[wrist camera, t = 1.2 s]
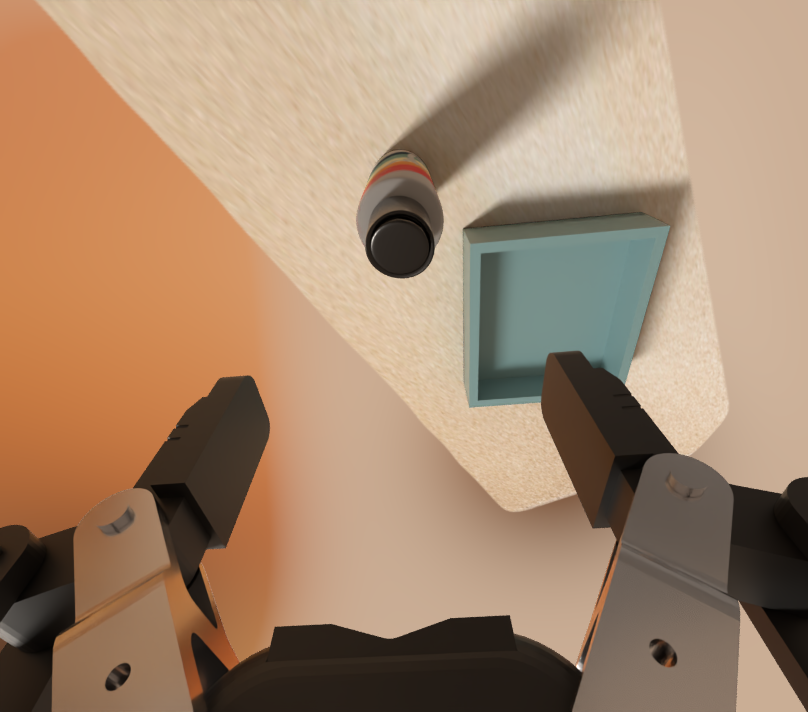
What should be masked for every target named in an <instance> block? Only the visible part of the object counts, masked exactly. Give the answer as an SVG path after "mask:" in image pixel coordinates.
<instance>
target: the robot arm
mask: <svg viewBox="0 0 808 712" xmlns="http://www.w3.org/2000/svg"><path fill="white" fill-rule="evenodd" d="M640 406H641V405H640V404H639V403H638V401H637V400H636V399H635V398H634V396H631V393H630V391H629V390H628V389H627V387H626V386H625V385H624V384H623V382H622V381H621V380H620V379H619V378H617V377H616V376H614V375H613V374H611V373H610V372H608V371H607V370H605V369H604V368H593V367H592V366H591V364H590V363H589V361H588V360H587V359H586V357H585V356H584V354H583V353H582V352H581V351H579V350H578V351H566V352H553V353H549V354H548V356H547V359H546V366H545V374H544V381H543V388H542V395H541V408H542V414H543V418H544V421H545V423H546V425H547V427H548V430H549V432H550V434H551V436H552V439H553V441H554V443H555V445H556V448H557V450H558V452H559V454H560V457H561V459H562V461H563V463H564V465H565V468H566V470H567V472H568V474H569V477H570V479H571V481H572V483H573V486H574V488H575V490H576V492H577V494H578V497H579V499H580V501H581V503H582V506H583V508H584V510H585V512H586V515H587V517H588V519H589V521H590V524H591V526H592V528H608V527H611V529H612V531H613V533H614V535H615V537H616V542H615V544H614V547H613V550H612V554H611V557H610V560H609V563H608V566H607V570H606V573H605V576H604V579H603V582H602V586H601V589H600V592H599V595H598V598H597V602H596V605H595V608H594V611H593V614H592V617H591V620H590V623H589V626H588V629H587V632H586V635H585V638H584V641H583V644H582V647H581V650H580V653H579V656H578V659H577V662H576V665H575V666H574V665H573V664H572V663H571V662H570V661H568V660H567V659H565V658H564V657H563V656H561V655H560V654H558V653H557V652H555V651H554V650H552V649H550V648H548V647H546V646H545V645H543V644H541V643H539V642H537V641H534V640H532V639H529V638H527V637H524V636H520V635H517V634H514V633H513V628H512V624H511V619H510V615H507V616H487V617H467V618H450V619H447V620H445V621H442V622H439V623H436V624H434V625H431V626H428V627H425V628H422V629H419V630H417V631H414V632H411V633H408V634H406V635H403V636H400V637H397V638H394V639H386V638H381V637H377V636H374V635H370V634H366V633H362V632H359V631H355V630H351V629H348V628H344V627H340V626H337V625H333V624H323V625H303V626H284V627H275V629H274V633H273V637H272V641H271V645H270V647H268V648H265V649H263V650H261V651H259V652H257V653H255V654H253V655H251V656H249V657H248V658H246V659H245V660H243V661H242V662H239V660H238V658H237V656H236V654H235V652H234V650H233V649H232V647H231V645H230V643H229V641H228V638H227V636H226V633H225V630H224V627H223V624H222V621H221V618H220V615H219V612H218V609H217V606H216V603H215V600H214V597H213V593H212V590H211V587H210V584H209V581H208V578H207V575H206V572H205V569H204V567H203V565H202V564H201V560H202V558H203V555H204V553H205V550H206V549H221V548H226V546H227V543H228V541H229V538H230V535H231V533H232V531H233V528H234V525H235V523H236V520H237V518H238V515H239V513H240V510H241V508H242V505H243V502H244V500H245V497H246V495H247V492H248V489H249V487H250V484H251V482H252V479H253V477H254V474H255V471H256V469H257V466H258V464H259V461H260V459H261V456H262V454H263V451H264V449H265V446H266V443H267V441H268V438H269V431H270V423H269V418H268V415H267V412H266V410H265V407H264V404H263V402H262V399H261V397H260V394H259V391H258V389H257V386H256V384H255V381H254V379H253V378H252V377H251V376H236V377H223V378H220V379H219V380H218V381H217V383H216V384H215V386H214V387H213V389H212V390H211V392H210V393H209V395H208V396H207V397H202V398H201V399H200V400H199V401H198V402H196V403H195V404H194V405H193V406H191V407H190V408H189V409H188V410H187V411H186V412H185V413H184V415H183V416H182V418H181V419H180V421H179V422H178V423H177V425H176V429H173V431H172V432H171V434H170V435H169V436H168V441H165V442H164V444H163V445H162V447H161V448H160V449H159V451H158V452H157V454H156V455H155V457H154V458H153V460H152V461H151V463H150V464H149V466H148V467H147V468H146V470H145V471H144V473H143V474H142V476H141V477H140V479H139V480H138V482H137V483H136V484H135V486H134V487H133V489H128V490H124V491H121V492H118V493H116V494H114V495H112V496H110V497H108V498H106V499H105V500H103V501H102V502H100V503H99V504H97V505H96V506H95V507H94V508H92V509H91V510H90V511H89V512H88V513H87V514H86V515H85V516H84V518H83V519H82V520H81V521H80V523H79V525H78V526H76V527H72V528H69V529H66V530H63V531H60V532H57V533H54V534H51V535H48V536H45V537H42V538H39V539H38V538H37V537H36V536H35V535H34V534H33V533H32V532H30V531H29V530H28V529H27V528H26V527H24V526H20V525H11V526H6V527H2V528H0V638H1V639H3V640H4V641H6V642H7V644H6V645H5V647H4V648H3V650H2V651H1V653H0V712H736V698H737V696H736V695H737V676H738V655H739V634H740V607H739V603H738V601H739V602H740V604H741V605H742V607H743V608H744V610H745V612H746V613H747V615H748V616H749V618H750V620H751V621H752V623H753V625H754V626H755V628H756V630H757V631H758V633H759V634H760V636H761V638H762V639H763V641H764V643H765V644H766V646H767V647H768V649H769V651H770V652H771V654H772V656H773V657H774V659H775V661H776V662H777V664H778V665H779V667H780V668H781V670H782V672H783V674H784V675H785V677H786V678H787V680H788V682H789V683H790V685H791V687H792V688H793V690H794V691H795V693H796V695H797V696H798V698H799V700H800V701H801V703H802V704H803V706H804V708H805V709H806V711H807V712H808V477H804V478H799V479H796V480H794V481H792V482H791V483H790V484H789V485H788V487H787V488H786V490H785V491H784V492H783V494H780V493H774V492H768V491H763V490H758V489H752V488H747V487H741V486H736V485H732V484H728V482H727V481H726V480H725V479H724V478H723V477H722V476H721V475H720V474H719V473H718V472H717V471H715V470H714V469H713V468H712V467H710V466H708V465H706V464H705V463H703V462H701V461H699V460H697V459H694V458H692V457H688V456H685V455H681V454H678V452H677V451H676V450H675V449H674V447H673V446H672V445H671V444H670V442H669V441H668V440H667V438H666V437H665V436H664V435H663V433H662V432H661V431H660V429H659V428H658V427H657V426H656V424H655V423H654V422H653V421H652V419H651V418H650V417H649V415H648V414H647V413H646V412H645V410H644V409H643V408H642V409H641V407H640Z"/></svg>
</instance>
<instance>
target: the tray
mask: <svg viewBox="0 0 808 712" xmlns="http://www.w3.org/2000/svg"><path fill="white" fill-rule="evenodd" d="M669 229H670V225H668V224H666V223H664V222H662V221H659V220H657V219H655V218H653V217H651V216H649V215H647V214H645V213H643V212H638V213H627V214H616V215H605V216H595V217H584V218H573V219H562V220H551V221H541V222H530V223H519V224H508V225H497V226H487V227H476V228H465V229H463V345H464V386H465V390H466V395H467V399H468V404H469V408H470V407H484V406H498V405H512V404H526V403H540V402H541V395H542V388H543V381H544V374H545V366H546V359H547V356H548V354H549V353H553V352H566V351H578V350H579V351H581V352H582V353H583V354H584V356H585V357H586V359H587V360H588V361H589V363H590V364H591V366H592V367H593V368H604V369H605V370H607V371H608V372H610V373H611V374H613V375H614V376H616V377H617V378H619V379H620V380H621V381H622V382H623V384H624V385H625V382H626V379H627V375H628V372H629V368H630V365H631V361H632V358H633V354H634V351H635V347H636V344H637V340H638V337H639V333H640V330H641V327H642V323H643V320H644V316H645V313H646V309H647V306H648V302H649V299H650V295H651V292H652V288H653V285H654V281H655V278H656V274H657V271H658V267H659V264H660V260H661V257H662V253H663V250H664V247H665V243H666V240H667V236H668V233H669Z"/></svg>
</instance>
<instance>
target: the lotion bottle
mask: <svg viewBox="0 0 808 712" xmlns="http://www.w3.org/2000/svg"><path fill="white" fill-rule="evenodd" d="M356 222H357V230H358V234H359V237H360V239H361V241H362V243H363V245H364V247H365V250H366V254H367V257H368V259H369V261H370V263H371V264H372V265H373V266H374V267H375V268H376V269H377V270H378V271H380V272H381V273H383V274H385V275H387V276H390V277H394V278H410V277H414V276H416V275H418V274H420V273H421V272H423V271H424V270H425V269H426V268H427V267H428V266H429V264H430V263H431V261H432V258H433V255H434V250H435V247H436V245H437V244H438V242H439V240H440V237H441V234H442V231H443V223H444V219H443V211H442V207H441V203H440V200H439V198H438V195H437V192H436V190H435V187H434V184H433V182H432V179H431V177H430V174H429V171H428V169H427V167H426V165H425V164H424V162H423V161H422V160H421V159H420V158H419V157H418V156H417V155H415V154H414V153H412V152H409V151H405V150H395V151H391V152H389V153H387V154H385V155H384V156H382V157H381V158H380V159H379V160H378V161H377V163H376V164H375V166H374V168H373V170H372V172H371V175H370V177H369V180H368V182H367V185H366V187H365V190H364V192H363V195H362V198H361V200H360V203H359V206H358V211H357V219H356Z"/></svg>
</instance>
